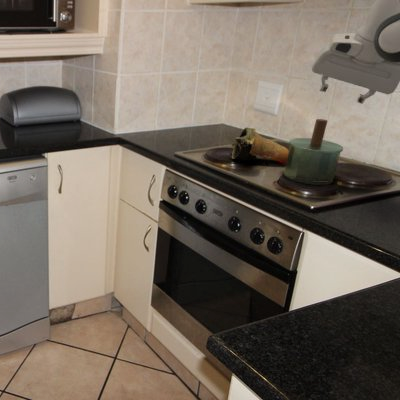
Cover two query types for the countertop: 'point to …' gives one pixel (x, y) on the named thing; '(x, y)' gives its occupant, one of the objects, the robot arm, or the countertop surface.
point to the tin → (311, 166)
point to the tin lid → (317, 141)
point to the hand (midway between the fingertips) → (340, 96)
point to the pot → (257, 147)
